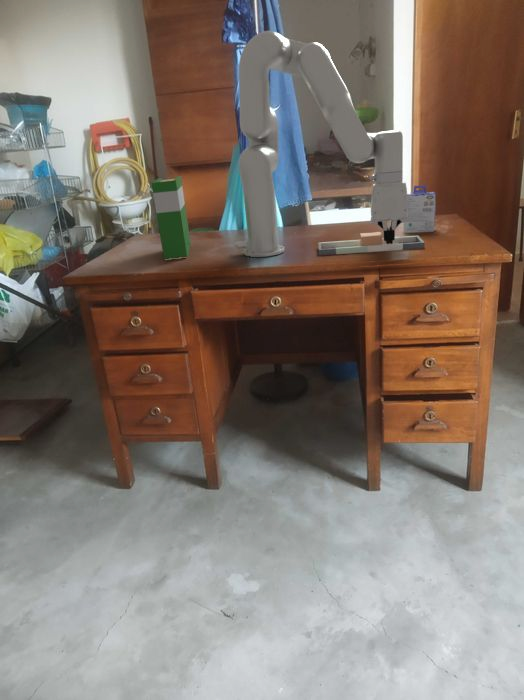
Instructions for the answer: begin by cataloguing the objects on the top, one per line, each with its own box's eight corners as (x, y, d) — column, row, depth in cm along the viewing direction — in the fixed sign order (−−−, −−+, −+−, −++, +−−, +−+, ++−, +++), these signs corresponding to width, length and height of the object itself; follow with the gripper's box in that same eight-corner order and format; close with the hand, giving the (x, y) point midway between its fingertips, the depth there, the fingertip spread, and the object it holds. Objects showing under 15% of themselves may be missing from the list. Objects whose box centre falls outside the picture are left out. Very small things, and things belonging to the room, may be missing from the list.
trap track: (318, 256, 151) (318, 249, 150) (318, 249, 160) (318, 242, 159) (424, 249, 147) (424, 242, 147) (418, 242, 156) (418, 235, 156)
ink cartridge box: (434, 229, 172) (435, 184, 166) (435, 232, 167) (436, 186, 161) (403, 230, 174) (404, 186, 169) (403, 234, 170) (404, 188, 164)
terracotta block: (361, 250, 152) (361, 236, 150) (360, 246, 156) (360, 233, 155) (382, 248, 151) (382, 235, 149) (380, 245, 155) (380, 231, 154)
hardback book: (170, 249, 182) (158, 178, 172) (191, 247, 182) (180, 176, 172) (164, 260, 165) (151, 182, 156) (187, 258, 165) (175, 180, 156)
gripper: (362, 182, 143) (364, 247, 150) (418, 176, 141) (417, 243, 148) (360, 179, 150) (362, 242, 157) (413, 174, 148) (413, 238, 155)
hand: (389, 243), depth 152 cm, fingers closed
